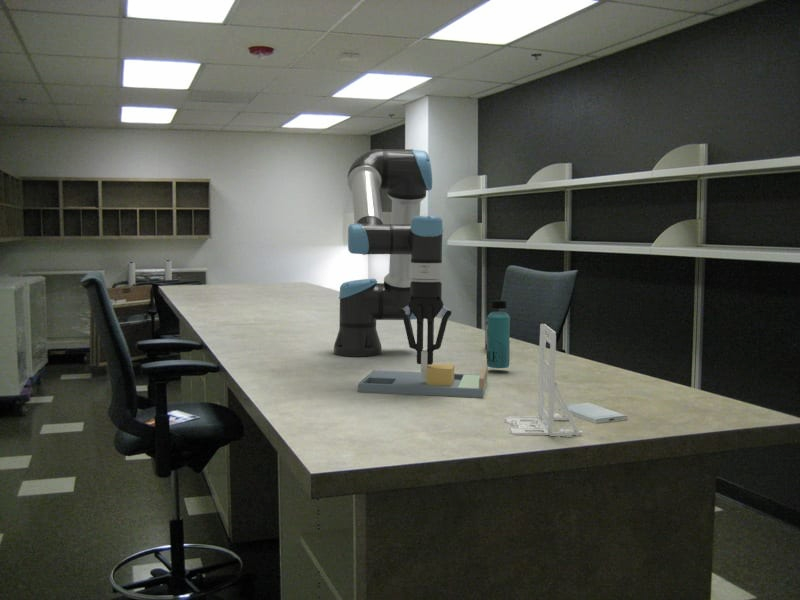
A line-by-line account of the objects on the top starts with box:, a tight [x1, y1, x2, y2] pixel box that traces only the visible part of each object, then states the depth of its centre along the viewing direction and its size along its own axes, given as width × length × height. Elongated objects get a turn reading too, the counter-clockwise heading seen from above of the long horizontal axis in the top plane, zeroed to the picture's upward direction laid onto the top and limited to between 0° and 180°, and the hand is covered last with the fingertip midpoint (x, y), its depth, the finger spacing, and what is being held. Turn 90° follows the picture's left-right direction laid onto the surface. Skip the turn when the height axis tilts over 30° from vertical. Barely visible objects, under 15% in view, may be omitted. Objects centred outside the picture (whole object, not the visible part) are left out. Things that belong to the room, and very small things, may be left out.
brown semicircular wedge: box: [484, 318, 488, 353], centre depth 242 cm, size 12×6×10 cm, turn 179°
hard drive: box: [558, 402, 628, 424], centre depth 160 cm, size 2×8×12 cm
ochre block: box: [427, 363, 455, 386], centre depth 182 cm, size 6×6×4 cm
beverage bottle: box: [486, 299, 511, 369], centre depth 207 cm, size 6×7×20 cm
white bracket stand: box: [503, 323, 583, 438], centre depth 148 cm, size 14×14×20 cm
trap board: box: [357, 364, 489, 399], centre depth 186 cm, size 30×18×4 cm, turn 80°
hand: (424, 377), depth 181 cm, fingers closed
